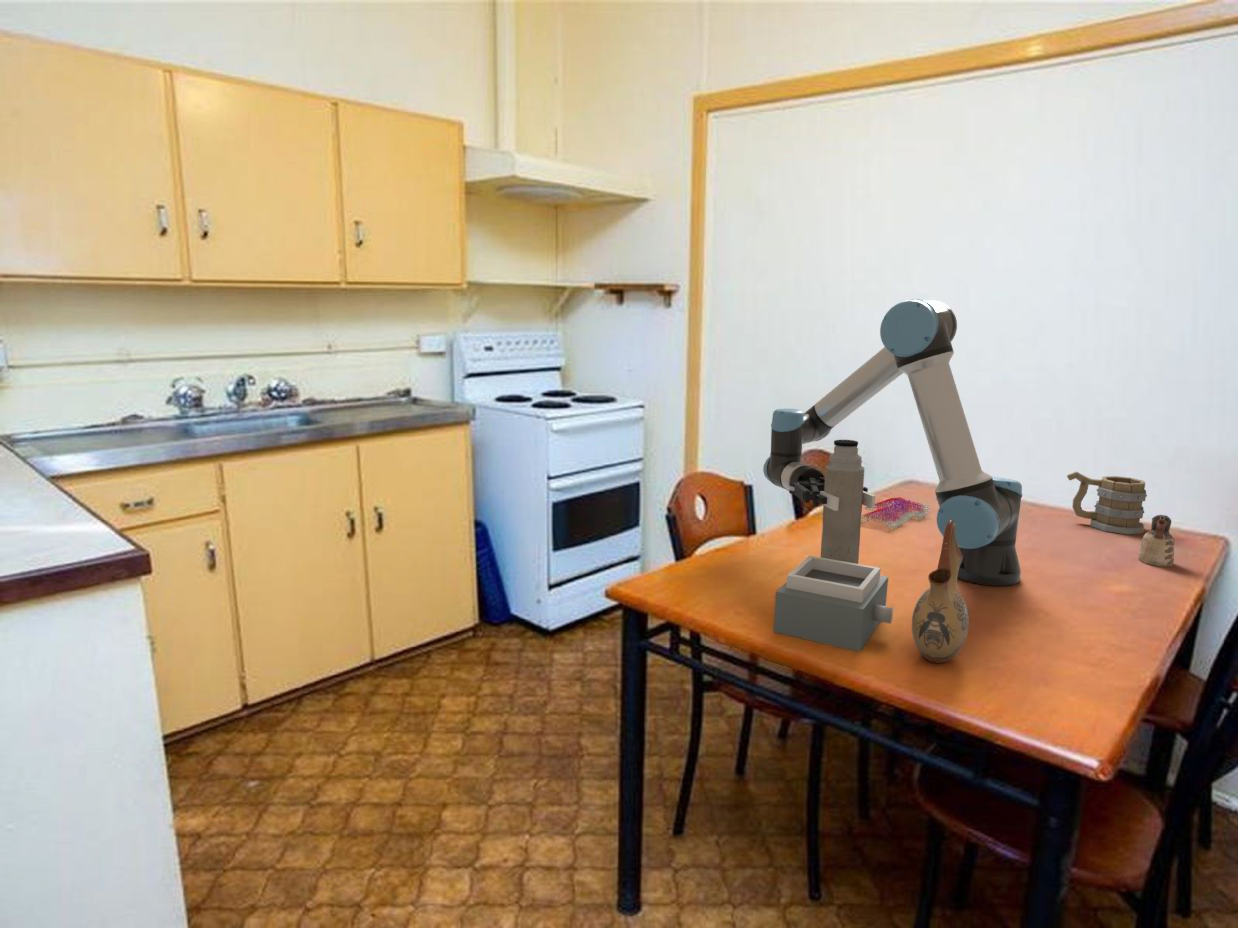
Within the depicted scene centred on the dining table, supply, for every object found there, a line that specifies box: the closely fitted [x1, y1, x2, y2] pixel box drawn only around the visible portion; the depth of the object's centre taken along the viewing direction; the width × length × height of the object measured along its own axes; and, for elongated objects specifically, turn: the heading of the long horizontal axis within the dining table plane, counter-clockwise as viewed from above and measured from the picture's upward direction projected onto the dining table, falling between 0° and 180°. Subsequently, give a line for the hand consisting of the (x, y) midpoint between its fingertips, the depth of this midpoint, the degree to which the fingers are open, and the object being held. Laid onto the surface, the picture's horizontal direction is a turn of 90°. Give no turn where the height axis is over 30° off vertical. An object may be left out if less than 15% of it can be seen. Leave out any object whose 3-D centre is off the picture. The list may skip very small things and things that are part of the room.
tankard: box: [1066, 471, 1148, 536], centre depth 220 cm, size 20×13×15 cm, turn 58°
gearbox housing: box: [773, 555, 894, 653], centre depth 149 cm, size 19×20×10 cm
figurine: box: [1138, 514, 1175, 568], centre depth 189 cm, size 7×7×12 cm
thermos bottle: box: [820, 439, 865, 564], centre depth 167 cm, size 8×8×28 cm
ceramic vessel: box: [911, 520, 970, 664], centre depth 134 cm, size 16×9×25 cm, turn 148°
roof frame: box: [861, 496, 931, 532], centre depth 227 cm, size 30×15×5 cm, turn 136°
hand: (855, 503), depth 162 cm, fingers closed on thermos bottle, 8 cm apart
